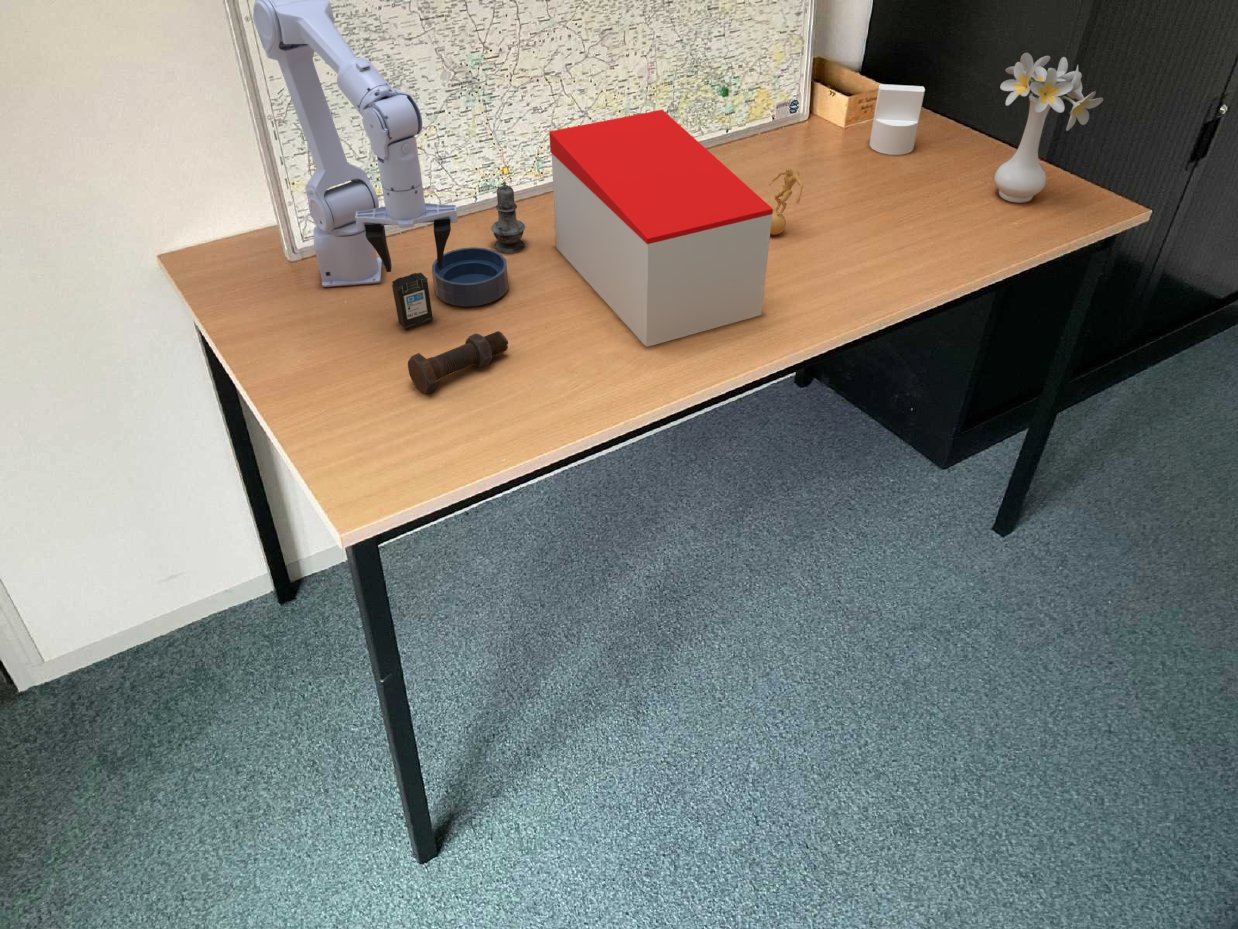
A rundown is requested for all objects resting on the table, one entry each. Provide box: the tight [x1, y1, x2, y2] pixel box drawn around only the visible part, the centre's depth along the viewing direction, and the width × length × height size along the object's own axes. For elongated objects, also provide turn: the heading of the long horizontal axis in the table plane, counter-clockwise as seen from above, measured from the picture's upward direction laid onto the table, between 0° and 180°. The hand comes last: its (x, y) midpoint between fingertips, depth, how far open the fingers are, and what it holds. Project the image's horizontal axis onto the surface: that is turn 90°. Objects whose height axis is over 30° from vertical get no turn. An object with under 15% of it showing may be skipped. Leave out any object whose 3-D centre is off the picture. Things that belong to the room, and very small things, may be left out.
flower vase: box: [993, 52, 1104, 204], centre depth 182 cm, size 13×18×25 cm
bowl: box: [431, 246, 509, 307], centre depth 164 cm, size 12×12×4 cm
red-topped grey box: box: [548, 109, 774, 348], centre depth 161 cm, size 21×35×21 cm, turn 26°
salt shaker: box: [490, 181, 526, 254], centre depth 173 cm, size 6×6×12 cm
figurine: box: [768, 167, 804, 236], centre depth 176 cm, size 8×6×12 cm
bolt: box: [407, 330, 509, 395], centre depth 147 cm, size 6×5×15 cm
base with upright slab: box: [868, 83, 926, 156], centre depth 205 cm, size 9×9×12 cm
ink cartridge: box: [391, 272, 434, 331], centre depth 155 cm, size 5×2×8 cm, turn 123°
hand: (414, 266), depth 152 cm, fingers open, 7 cm apart
